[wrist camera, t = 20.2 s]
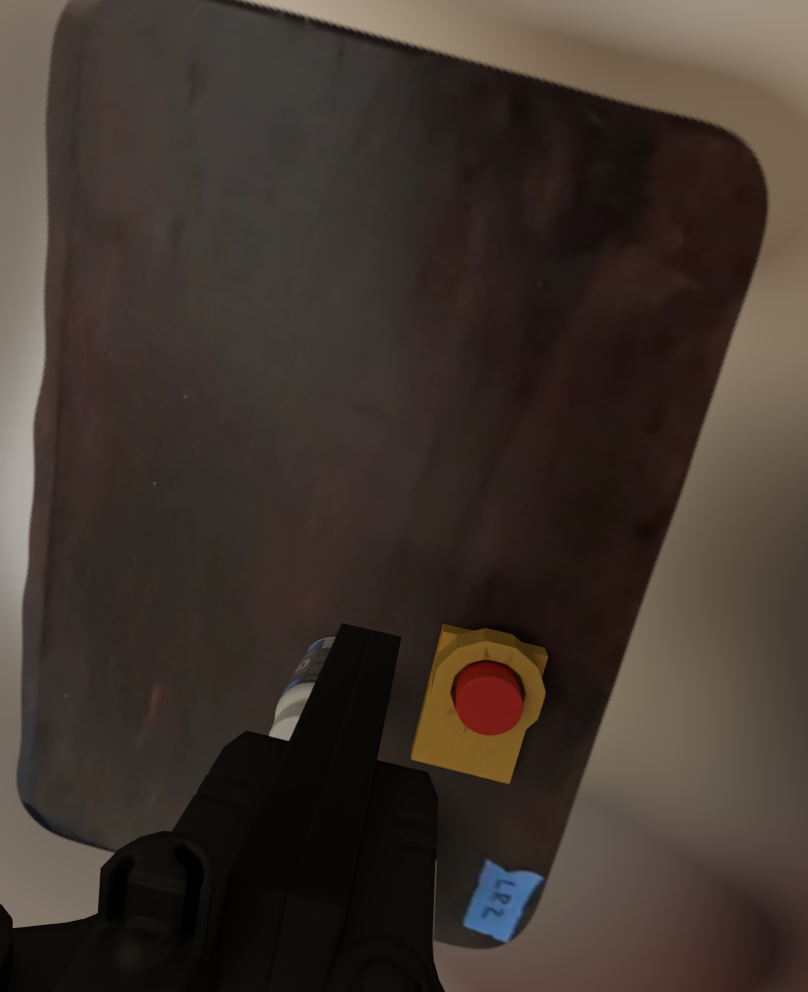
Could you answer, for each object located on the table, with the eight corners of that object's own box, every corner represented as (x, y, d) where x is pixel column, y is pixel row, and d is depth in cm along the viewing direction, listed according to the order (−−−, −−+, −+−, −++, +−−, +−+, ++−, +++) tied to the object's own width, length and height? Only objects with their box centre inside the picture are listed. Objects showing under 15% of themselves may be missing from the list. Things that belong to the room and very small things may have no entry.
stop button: (463, 654, 32) (464, 669, 30) (526, 669, 32) (531, 685, 30) (449, 709, 33) (449, 727, 31) (510, 724, 33) (513, 743, 31)
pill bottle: (309, 627, 35) (267, 700, 27) (375, 643, 35) (352, 722, 27) (298, 686, 36) (254, 773, 28) (362, 703, 36) (336, 795, 28)
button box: (445, 610, 34) (445, 631, 31) (549, 634, 34) (558, 658, 31) (412, 747, 37) (408, 779, 34) (508, 771, 36) (512, 805, 33)
